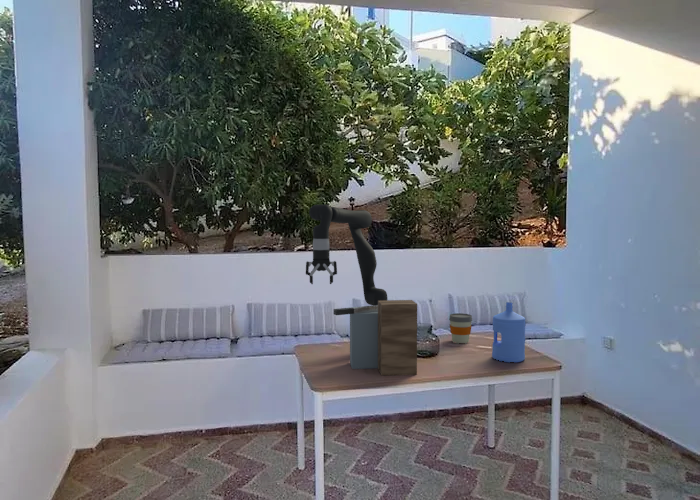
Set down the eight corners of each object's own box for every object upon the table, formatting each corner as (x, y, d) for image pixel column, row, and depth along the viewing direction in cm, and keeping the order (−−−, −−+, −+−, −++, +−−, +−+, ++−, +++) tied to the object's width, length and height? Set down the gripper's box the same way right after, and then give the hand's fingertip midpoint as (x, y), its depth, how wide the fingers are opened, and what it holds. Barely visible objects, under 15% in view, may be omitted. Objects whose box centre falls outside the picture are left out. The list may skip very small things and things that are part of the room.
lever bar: (333, 314, 241) (333, 309, 241) (379, 309, 252) (379, 304, 252) (336, 315, 238) (336, 310, 238) (382, 310, 249) (382, 305, 249)
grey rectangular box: (349, 362, 254) (349, 309, 252) (390, 361, 256) (390, 308, 254) (352, 369, 244) (351, 313, 242) (394, 367, 246) (394, 312, 244)
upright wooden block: (377, 368, 245) (377, 300, 242) (411, 367, 246) (411, 299, 244) (381, 375, 234) (381, 304, 231) (416, 374, 235) (417, 304, 233)
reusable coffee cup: (451, 344, 289) (452, 317, 288) (446, 339, 301) (447, 313, 300) (474, 344, 289) (474, 317, 288) (468, 338, 302) (468, 313, 300)
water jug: (526, 356, 264) (527, 301, 263) (522, 364, 250) (523, 306, 248) (494, 353, 271) (495, 299, 269) (489, 360, 257) (490, 304, 255)
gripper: (305, 249, 234) (305, 285, 235) (337, 249, 235) (337, 284, 237) (305, 248, 242) (305, 283, 243) (336, 247, 243) (336, 282, 244)
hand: (321, 284), depth 240 cm, fingers open, 8 cm apart
